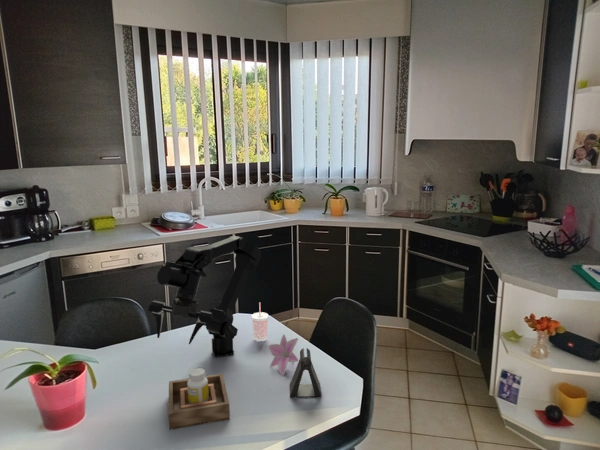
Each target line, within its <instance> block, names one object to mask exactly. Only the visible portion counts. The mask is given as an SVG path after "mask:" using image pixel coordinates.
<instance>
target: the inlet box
mask: <svg viewBox="0 0 600 450" xmlns="http://www.w3.org/2000/svg"><path fill="white" fill-rule="evenodd" d="M205 377H206V378H207V379H208V393H209V401H206V402H200V403H194V404H189V402H188V388H187V382H188V380H189V379H190V377H189V378H183V379H177V380H169V381H168V408H167V409H168V410H167V411H168V427H169V431H172V430H178V429H182V428H187V427H194V426H201V425H205V424H211V423H217V422H223V421H227V420H230V419H231V418H230V417H231V413H230V401H229V396H228V392H227V387H226V382H225V379H224V373H218V374H216V373H215V374H210V375H205Z"/></svg>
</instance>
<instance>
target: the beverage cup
mask: <svg viewBox="0 0 600 450" xmlns="http://www.w3.org/2000/svg"><path fill="white" fill-rule="evenodd" d="M258 305H259V307H258V308H259V309H258V310H259V311H258V312H253V314H251V319H252V331H253V340H254V341H255V340H256V341H255V342H258V341H262V342H265V341H267V338H268V319H269V314H268V313H267V312H263V311H261V309H262V308H261V302H259V303H258Z"/></svg>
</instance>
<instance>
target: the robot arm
mask: <svg viewBox="0 0 600 450" xmlns="http://www.w3.org/2000/svg"><path fill="white" fill-rule="evenodd" d="M229 253H233V254H235V256H234V261H235V262H234V263H235V268H234V270H233V272H232V275H231V277H230V279H229V282H228V284H227V286H226V288H225V289H224V290H225V291H224V292H223V295H222V297H221V300H220V302H219V304H218V305H217V306H216V307H210V309H209V310H208V311H206V310H201V309H200V312H198V308H199V304H200V303H199V301H196V297H197V292H198V288H199V285H200V282H201V277H203V278H206V277H207V274H206V271H204V269H205V268H206V267H208V266H210V265H211V264H212V263H213V261H214V260H215V259H217V258H219V257H222V256H224V255H226V254H227V255H228V254H229ZM261 259H262V252H261V249H260V248H259V247H257V246H255V245H253V244H252V243H250V242H249V241H247V240H246V239H245V238H244V237H242V236H237V235H231V236H229V237H228V238H225V239H223V240H219V241H217V242H214V243H211V244H209V245H204V246H202V245H200V246H198V245H197V246H190V247H187V248H186V249H184V252H183V253H182V254H181V255H180V256H179V257H178V258H177V259H176V261H174V262H172V261H168V260H167V261H166V262H165V264H164V265H163V266H161V268H160V269H159V270H158V272H157V275H156V277H157V278H156V279H157V282H158V284H160V285H161V286H166V287H173V288H177V290H176V294H175V298H174V299H173V301H172V305H171V306H170V305H166V302H163V301H159V300H152V301H150V302H149V304H148V308H147V312H151V315H152V316H154V318H155V322H156V334H157V335H156V336H157V338H158V339H159V338H160V337H161V333H162V326H163V320H164V314H165V312H166V313H169V314H172V315H174V316H181V317H183V318H188V317H189V318H193V319H197V320H196V323H195V326H194V327H193V330H192V333H191V335H190V338H189V341H188V345H191V343H192V342H193V340H194V339H195V336H197V334H198V332H199V331H200V330H201V328H202V327H203V326H205V328H206V331H208V334H209V335H212V338H211V351H212V354H213V356H214V357H215V358H217V357H224V356H225V357H226V356H231V355H234V354H235V351H234V339H235V337H236V336H237V335H238V330H239V329H238V328H237V327H235V326H234V325H233V323H234V314H233V313H234V312H233V311H234V308H235V307H236V304H237V301H238V298H239V297H240V294H241V292H242V289H243V287H244V285H245V282H246V280H247V278H248V275H249V273H250V272H251V271H253V269H255V268H257V265H258V264H259V262H260V261H261Z"/></svg>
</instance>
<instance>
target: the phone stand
mask: <svg viewBox="0 0 600 450" xmlns="http://www.w3.org/2000/svg"><path fill="white" fill-rule="evenodd" d="M305 349H306V356H305ZM305 349H304V347H303V348H301V350H300V351H299V357H300V358H299V359H298V361H297V362H298V363H297V365H296V368H295V371H294V373H293V375H292V377H291V381H290V382H289V398H290V399H292V398H295V399H297V398H299V399H300V398H304V397H305V398H306V397H311V398H322V389H321V388H322V387H321V383H320V380H319V378H318V375H317V371H316V370H315V367H314V364H313V361H312V356H311V350H310V349H309V348H307V347H306V348H305ZM304 371H308V376H309V379H310V381H311V384H310V383H309V384H306V383H305V384H304V383H303V384H301V381H302V378H303V375H304ZM305 398H304V399H305Z"/></svg>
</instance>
